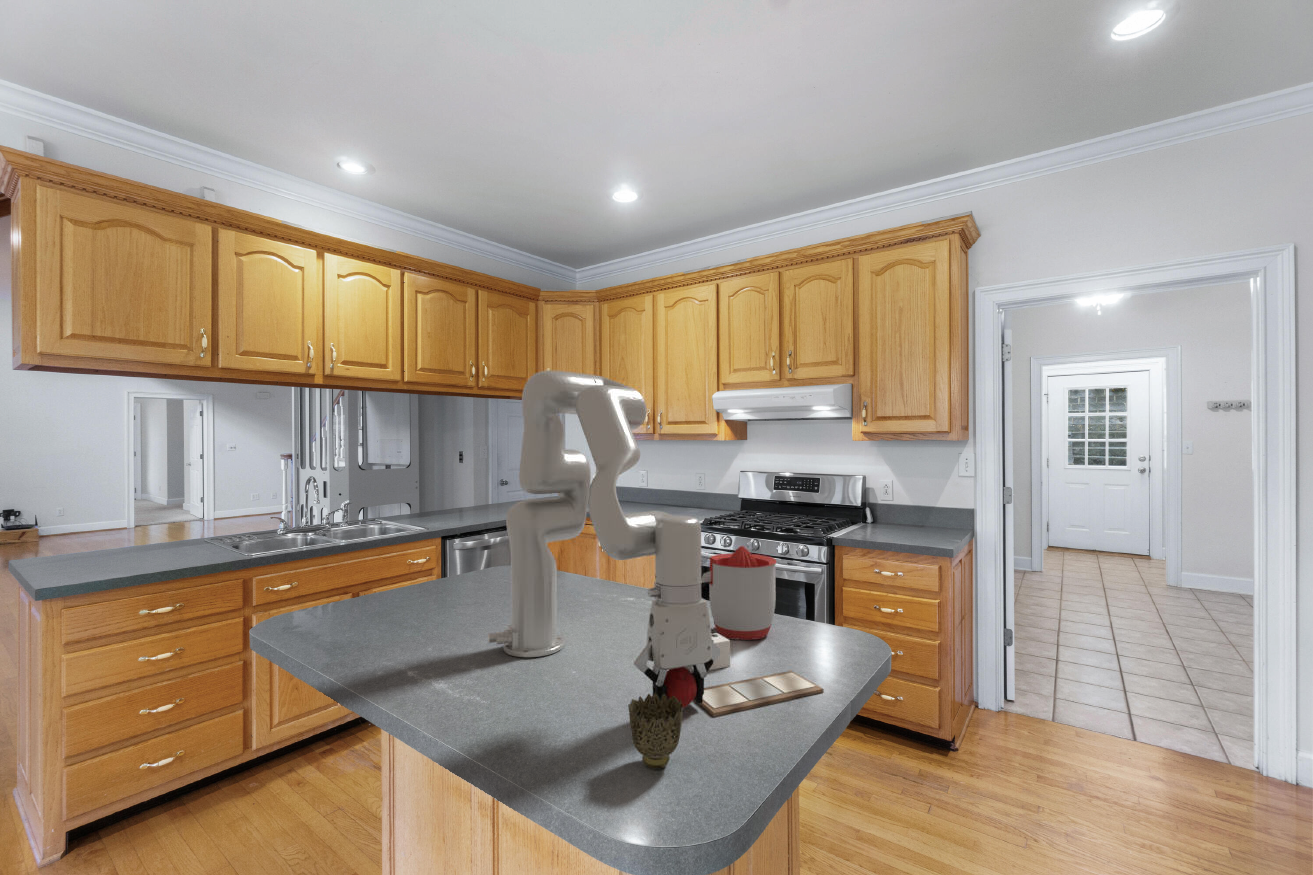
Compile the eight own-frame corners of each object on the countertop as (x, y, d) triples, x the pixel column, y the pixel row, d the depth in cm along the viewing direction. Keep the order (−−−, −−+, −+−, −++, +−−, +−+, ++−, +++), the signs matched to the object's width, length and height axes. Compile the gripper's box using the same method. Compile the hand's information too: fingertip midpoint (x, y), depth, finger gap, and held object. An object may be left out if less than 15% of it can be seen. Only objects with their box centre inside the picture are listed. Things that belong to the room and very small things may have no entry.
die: (707, 670, 110) (707, 643, 110) (695, 661, 115) (695, 635, 115) (730, 666, 112) (729, 639, 113) (717, 657, 117) (716, 632, 117)
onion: (701, 706, 95) (701, 657, 95) (688, 721, 90) (688, 669, 90) (669, 699, 98) (669, 652, 98) (655, 713, 92) (655, 663, 93)
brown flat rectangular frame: (714, 716, 91) (714, 711, 91) (687, 694, 100) (687, 690, 100) (823, 692, 101) (823, 687, 101) (791, 673, 109) (791, 669, 109)
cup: (627, 750, 81) (627, 693, 81) (679, 748, 82) (679, 691, 82) (629, 781, 74) (629, 718, 74) (686, 778, 74) (686, 715, 75)
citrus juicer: (699, 622, 141) (699, 540, 141) (770, 622, 140) (770, 540, 141) (702, 644, 125) (702, 551, 125) (782, 644, 125) (782, 552, 125)
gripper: (638, 604, 87) (638, 724, 87) (735, 592, 94) (736, 703, 94) (620, 592, 94) (620, 704, 94) (712, 582, 101) (713, 685, 101)
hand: (678, 702), depth 94 cm, fingers closed on onion, 5 cm apart
